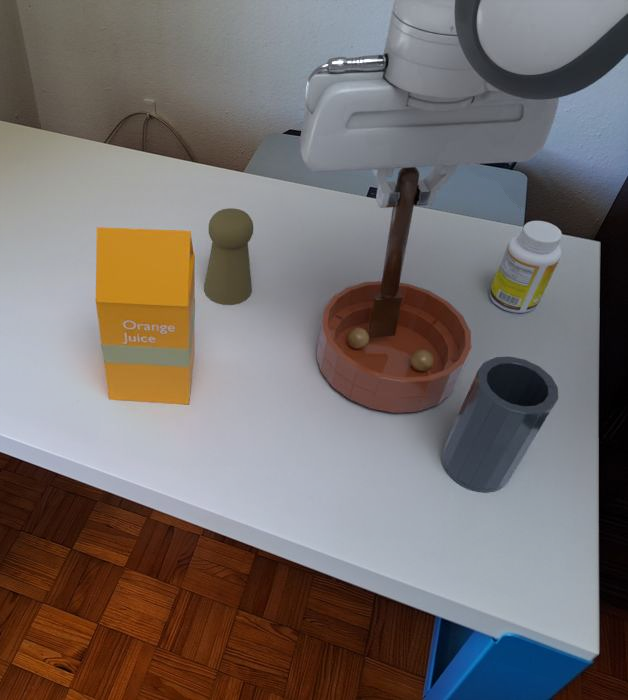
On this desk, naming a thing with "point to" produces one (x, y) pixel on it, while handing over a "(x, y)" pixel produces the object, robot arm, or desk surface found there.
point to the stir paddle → (394, 258)
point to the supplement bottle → (527, 267)
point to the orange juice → (146, 313)
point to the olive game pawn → (229, 257)
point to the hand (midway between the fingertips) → (403, 203)
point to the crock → (498, 422)
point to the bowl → (393, 349)
